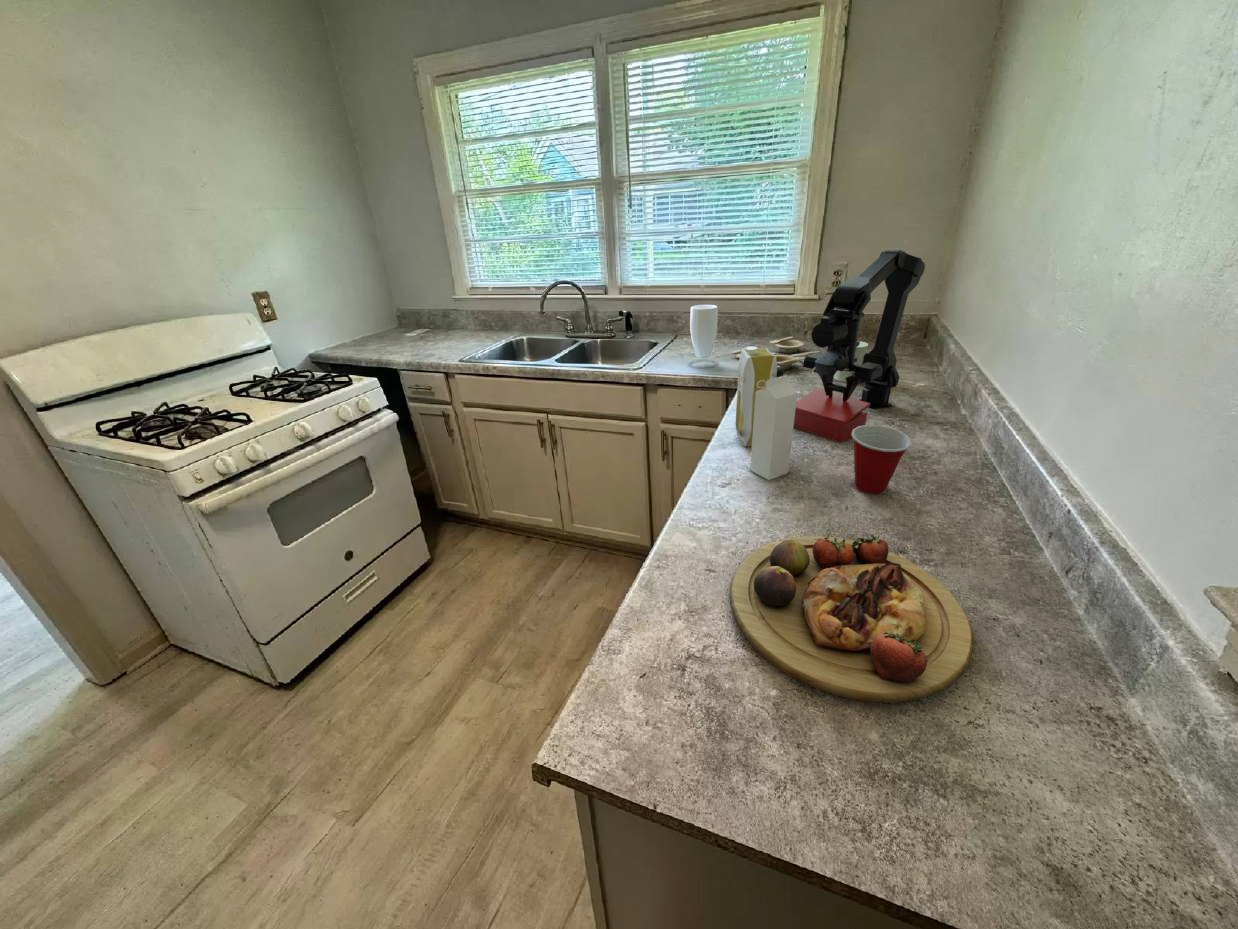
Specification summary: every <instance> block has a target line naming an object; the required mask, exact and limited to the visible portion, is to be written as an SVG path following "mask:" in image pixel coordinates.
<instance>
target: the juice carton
mask: <svg viewBox="0 0 1238 929" xmlns="http://www.w3.org/2000/svg"><path fill="white" fill-rule="evenodd" d="M744 349H745V348H744ZM740 350H741V355H740V359H739V358H738V359H739V360H738V366H737V368H738V369H737V371H738V372H737V386H736V388H737V389H736V406H735V430H736V435H737V437H738V438H739V440H740V442H741V444H742V446H743V447H752V437H753V422H754V408H755V393H756V391H758V390H761V389H763V388H766V382H767V380H770V379H773V378H776V376H777V359H776V356H775V355H773V354H772V353H773V352H771V351H770V350H769V348H766V347H764V348H761V347H759V348H758V347H757V346H751V347H749V348H747V349H745V350H742V349H740Z"/></svg>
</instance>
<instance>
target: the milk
mask: <svg viewBox="0 0 1238 929" xmlns="http://www.w3.org/2000/svg"><path fill="white" fill-rule="evenodd" d="M788 379H789V375H788V374H784V376H781V377H777V378H773V379H770V380H767V382H766V388H763V389H761V390H758V391H756V393H755V408H754V422H753V437H752V446H751V453H750V465H749V467H750V468H749V470H750V471H751V472H753V473H755V474H756V475H758V476H760V477H762V478H764V479H766V480H767V481H772V480H774V479H777V478H780V477H781V476H784V475H788V474H789V472H790V462H791V453H792V445H793V444H792V443H793V434H794V428H795V427H794V418H795V409H796V402H797V401H798V400H797V398H798V392H797V391H796V389H794V387H793V386H792V385H791V384H790V383H789V380H788Z"/></svg>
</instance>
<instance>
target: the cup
mask: <svg viewBox="0 0 1238 929" xmlns="http://www.w3.org/2000/svg"><path fill="white" fill-rule="evenodd" d="M718 308H719V307H718V306H717V305H716V304H715V305H714V304H698V305H697V304H696V305H692V306H691V307H690V314H689V315H690V316H689V325H690V327H689V328H690V329H689V330H690V337H691V342H692V347H693V350H694V353H695V355H696V357H697V359H709V358H710V357H711V354H712V352H713V350H714V346H715V343H716V338H717V333H718V321H719V320H718V318H719V317H718V316H719V315H718V314H719V313H718V312H719V310H718Z"/></svg>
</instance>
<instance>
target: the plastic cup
mask: <svg viewBox="0 0 1238 929" xmlns="http://www.w3.org/2000/svg"><path fill="white" fill-rule="evenodd" d="M851 438H852V440H853V442H852V443H853V472H854V484H855V485H854V486H855V487H856V489H857V490H859V491H860V492H862V493H865V494H869V495H879V494H883V493H884V492H886V490H887V488H888V487H889V484H890V481H891V479H892V478H893V476H894V474H895V471H896V469H897V467H898V465H899V463H900V460H902V459H901V458H902V457H903V456H904V454H905V453H906V451H907V450H908V449H909V448H911V446H912V443H913V440H912V439H911V438H910V437H909V435H908V434H907V433H904V432H903V431H901V430H899V429H896V428H893V427H890V426H885V425H879V424H865V425H863V426H858V427H856V428H855V429H853V431H852V437H851Z"/></svg>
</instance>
